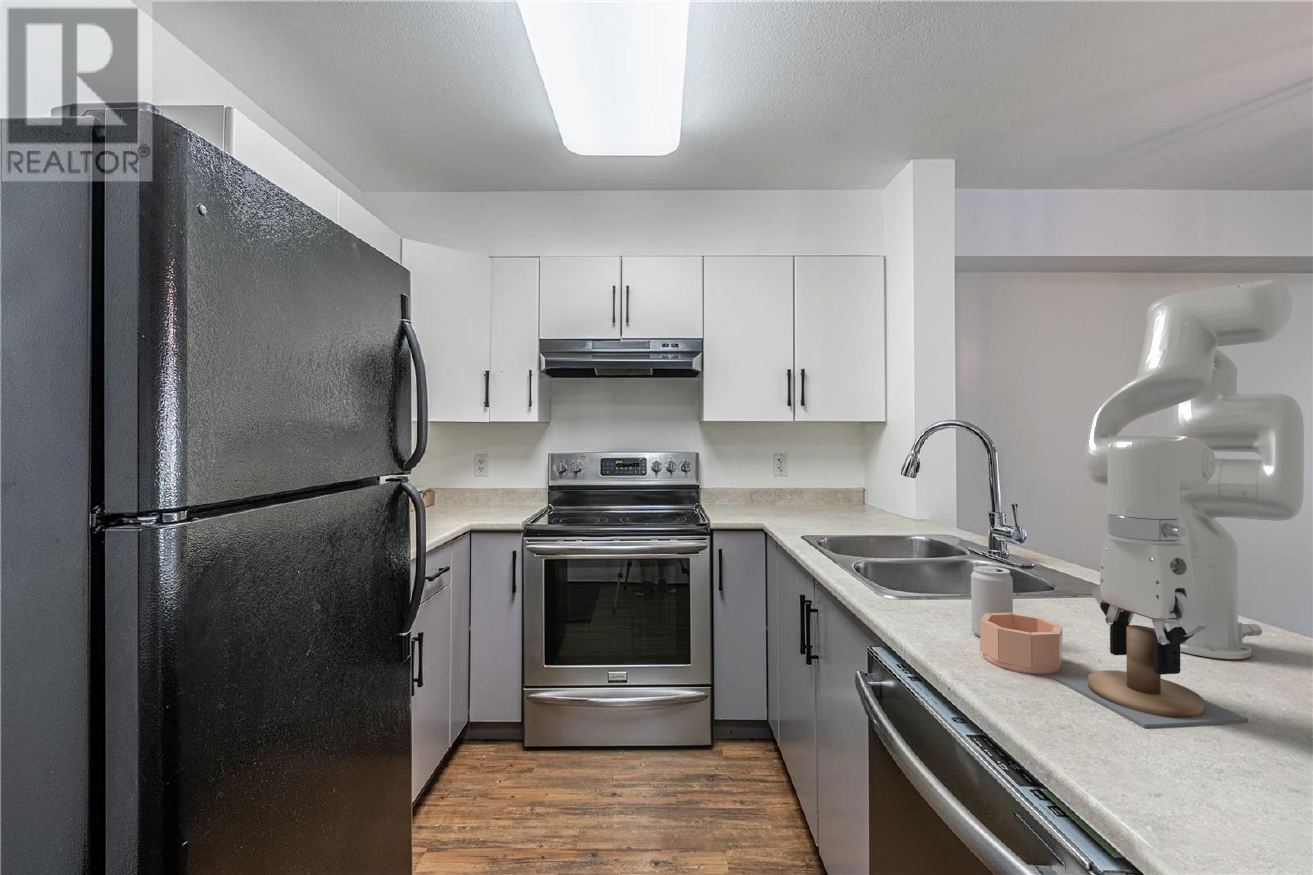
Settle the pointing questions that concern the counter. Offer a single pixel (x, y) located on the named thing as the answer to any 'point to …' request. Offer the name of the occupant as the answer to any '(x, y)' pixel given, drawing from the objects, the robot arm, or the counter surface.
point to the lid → (1145, 682)
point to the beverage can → (990, 593)
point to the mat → (1210, 716)
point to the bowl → (1021, 643)
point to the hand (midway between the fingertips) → (1143, 662)
